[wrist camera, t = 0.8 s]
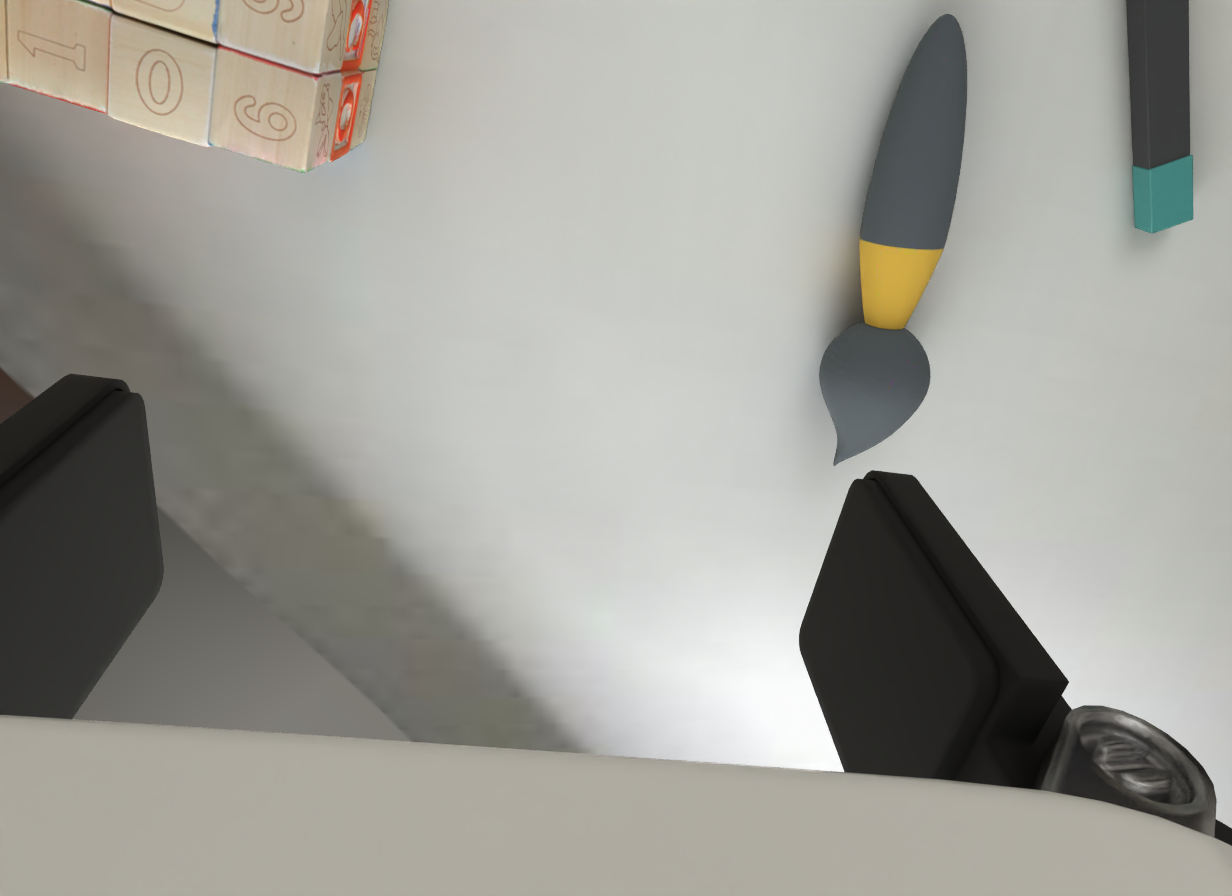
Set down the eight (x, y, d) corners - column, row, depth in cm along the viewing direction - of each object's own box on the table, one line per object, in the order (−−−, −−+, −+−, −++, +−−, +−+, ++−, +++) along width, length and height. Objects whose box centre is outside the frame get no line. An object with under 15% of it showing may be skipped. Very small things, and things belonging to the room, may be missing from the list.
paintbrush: (847, 14, 33) (890, 14, 29) (964, 14, 34) (1025, 13, 29) (798, 440, 43) (825, 489, 38) (890, 437, 43) (928, 485, 39)
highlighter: (1120, -95, 32) (1140, -100, 31) (1168, -114, 32) (1191, -119, 31) (1134, 227, 38) (1151, 234, 37) (1174, 213, 38) (1193, 219, 37)
